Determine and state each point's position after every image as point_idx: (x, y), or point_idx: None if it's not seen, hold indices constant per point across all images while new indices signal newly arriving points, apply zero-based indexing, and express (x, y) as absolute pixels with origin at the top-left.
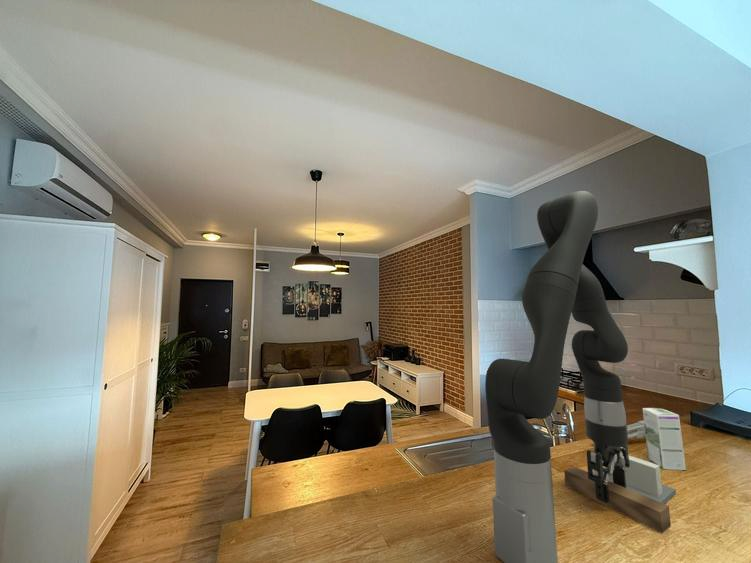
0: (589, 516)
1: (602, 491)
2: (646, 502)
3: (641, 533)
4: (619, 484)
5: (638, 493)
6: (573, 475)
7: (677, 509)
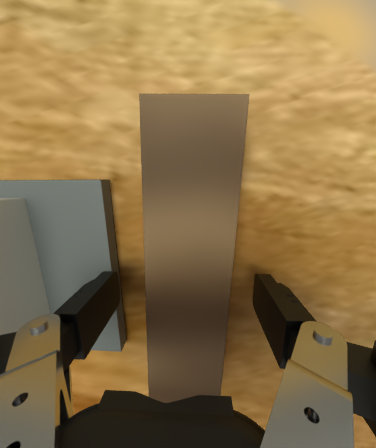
0: (327, 281)
1: (303, 310)
2: (204, 169)
3: (293, 161)
4: (111, 294)
5: (144, 220)
6: None
7: (30, 145)
